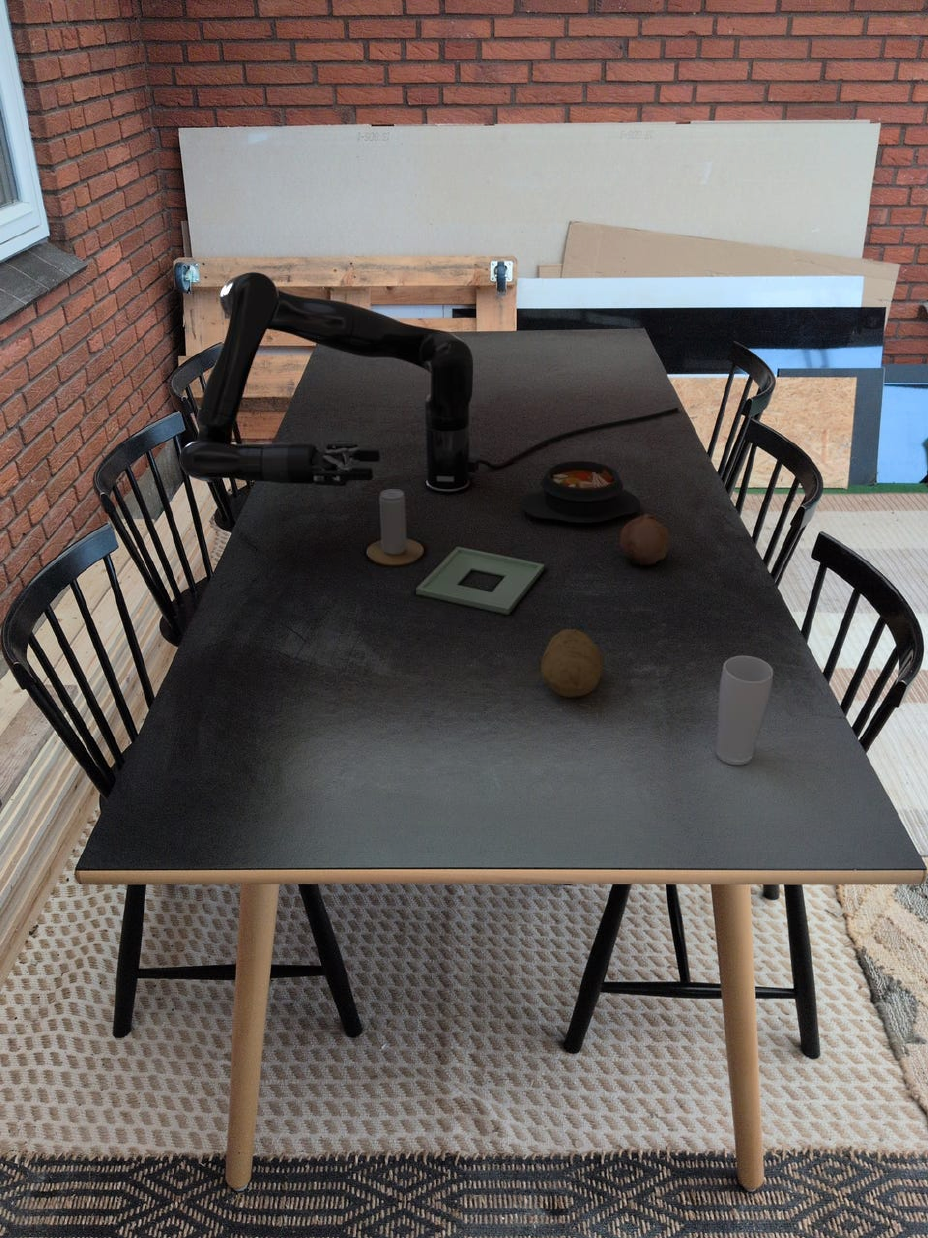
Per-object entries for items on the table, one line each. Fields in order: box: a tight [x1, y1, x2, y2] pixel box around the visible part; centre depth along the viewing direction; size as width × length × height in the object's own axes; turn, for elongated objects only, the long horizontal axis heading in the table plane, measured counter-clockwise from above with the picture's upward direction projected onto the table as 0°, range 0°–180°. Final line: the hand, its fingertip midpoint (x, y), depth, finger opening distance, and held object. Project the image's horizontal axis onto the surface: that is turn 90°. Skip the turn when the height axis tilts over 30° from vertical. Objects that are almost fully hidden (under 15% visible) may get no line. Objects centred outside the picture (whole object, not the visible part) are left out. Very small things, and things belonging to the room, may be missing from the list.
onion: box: [619, 513, 671, 567], centre depth 196 cm, size 10×9×10 cm
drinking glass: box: [714, 655, 774, 766], centre depth 144 cm, size 7×7×15 cm
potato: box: [540, 628, 604, 698], centre depth 161 cm, size 10×14×8 cm
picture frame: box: [415, 546, 545, 616], centre depth 191 cm, size 18×18×1 cm
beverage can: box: [379, 488, 407, 555], centre depth 198 cm, size 5×5×12 cm
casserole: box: [520, 460, 641, 524], centre depth 215 cm, size 25×19×8 cm
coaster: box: [366, 537, 424, 566], centre depth 201 cm, size 11×11×1 cm
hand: (375, 464), depth 192 cm, fingers open, 8 cm apart
